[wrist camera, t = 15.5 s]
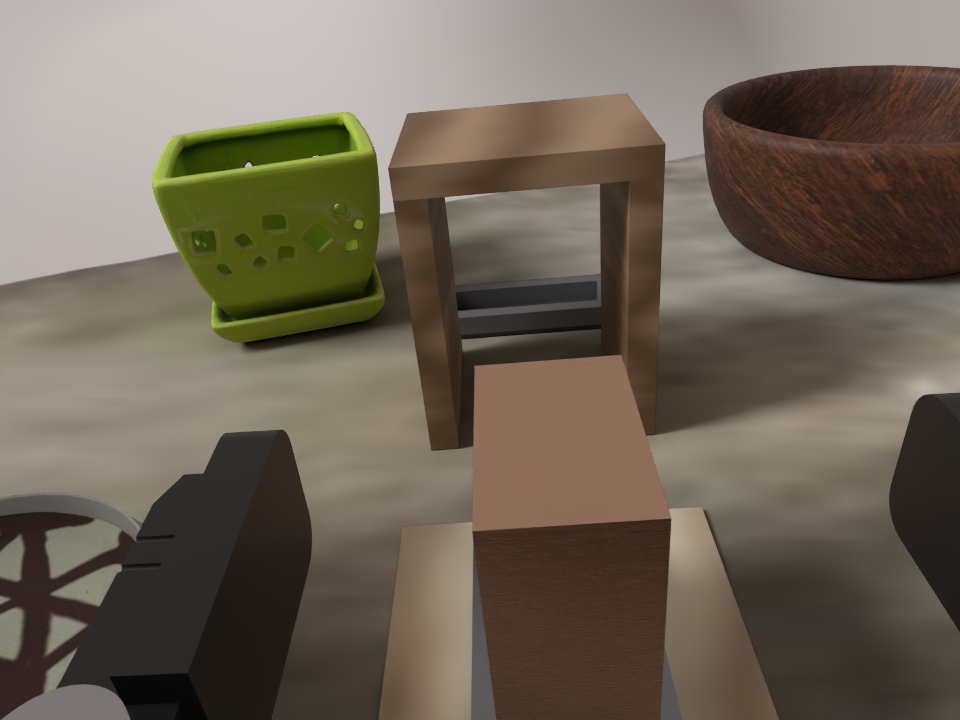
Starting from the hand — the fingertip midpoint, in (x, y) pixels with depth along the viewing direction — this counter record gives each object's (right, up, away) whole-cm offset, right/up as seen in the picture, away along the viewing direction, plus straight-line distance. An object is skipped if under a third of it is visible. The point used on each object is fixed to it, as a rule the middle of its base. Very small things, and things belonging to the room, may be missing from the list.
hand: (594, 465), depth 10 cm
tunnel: (+2, -1, +35) cm, 35 cm away
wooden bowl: (+29, +12, +51) cm, 60 cm away
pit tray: (+2, +4, +43) cm, 44 cm away
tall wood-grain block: (+2, -8, +22) cm, 24 cm away
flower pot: (-15, +5, +48) cm, 51 cm away
